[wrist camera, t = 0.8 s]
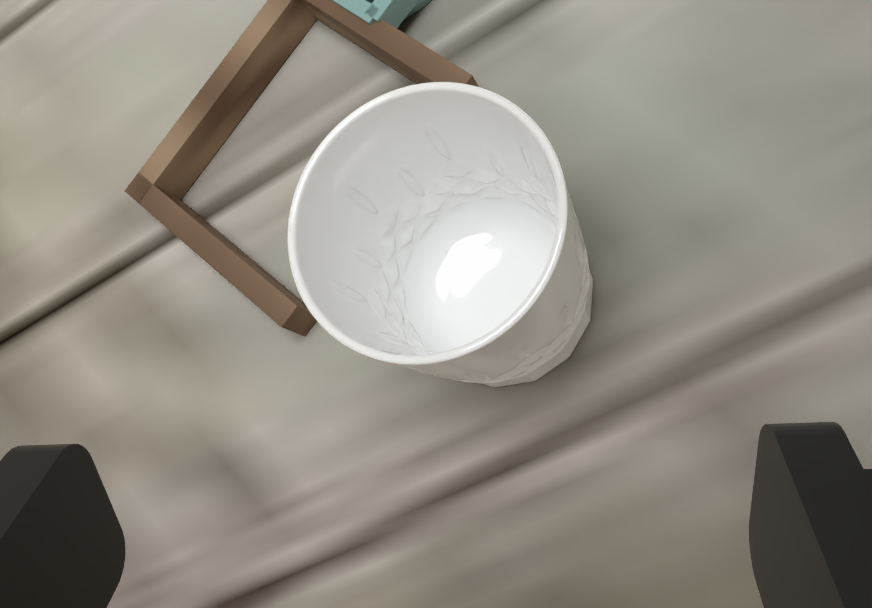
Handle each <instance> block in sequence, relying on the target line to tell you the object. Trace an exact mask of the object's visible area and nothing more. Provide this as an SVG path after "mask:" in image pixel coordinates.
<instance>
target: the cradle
mask: <svg viewBox="0 0 872 608" xmlns="http://www.w3.org/2000/svg"><path fill="white" fill-rule="evenodd" d="M317 19H318V20H319V21H321V22H322V23H324V24H325V25H327V26H328V27H330V28H332V29H333V30H335V31H336V32H338V33H339V34H341V35H342V36H344V37H345V38H347V39H348V40H350V41H352V42H353V43H355V44H356V45H358V46H359V47H361V48H362V49H364V50H365V51H367V52H369V53H370V54H372V55H373V56H375V57H376V58H378V59H379V60H381V61H382V62H384V63H385V64H387V65H389V66H390V67H392V68H393V69H395V70H396V71H398V72H399V73H401V74H402V75H404V76H405V77H407V78H409V79H410V80H412V81H413V82H415V83H416V84H421V83H429V82H455V83H463V84H468V85H473V86H477V87H478V85H477V83H476V81H475V80H474V78H473V76H472V75H471V74H469V73H467V72H466V71H464V70H463V69H461V68H459V67H458V66H456V65H455V64H453V63H451V62H450V61H448V60H447V59H445V58H443V57H442V56H440V55H439V54H437V53H435V52H434V51H432V50H430V49H429V48H427V47H426V46H424V45H422V44H421V43H419V42H418V41H416V40H414V39H413V38H411V37H410V36H408V35H406V34H405V33H403V32H402V31H400V30H398V29H397V28H395V27H394V26H392V25H390V24H389V23H387V22H386V21H384V20H381V21H380V23H378V22H376V21H374V22H373V23H372V25H369V24H368V23H366V22H364V21H363V20H361V19H360V18H358V17H357V16H355V15H353V14H352V13H350V12H349V11H347V10H345V9H344V8H342V7H341V6H339V5H338V4H336V3H334V2H333V1H331V0H268V1H267V2H266V3H265V5H264V6H263V7H262V9H261V10H260V11H259V13H258V14H257V15H256V17H255V18H254V19H253V21H252V22H251V23H250V25H249V26H248V27H247V29H246V30H245V31H244V33H243V34H242V35H241V37H240V38H239V39H238V41H237V42H236V43H235V45H234V46H233V47H232V49H231V50H230V51H229V53H228V54H227V55H226V57H225V58H224V59H223V61H222V62H221V63H220V65H219V66H218V67H217V69H216V70H215V71H214V73H213V74H212V75H211V77H210V78H209V79H208V81H207V82H206V83H205V85H204V86H203V87H202V89H201V90H200V91H199V93H198V94H197V95H196V97H195V98H194V99H193V101H192V102H191V103H190V105H189V106H188V107H187V109H186V110H185V111H184V113H183V114H182V115H181V117H180V118H179V119H178V121H177V122H176V123H175V125H174V126H173V127H172V129H171V130H170V131H169V133H168V134H167V135H166V137H165V138H164V139H163V141H162V142H161V143H160V145H159V146H158V147H157V149H156V150H155V151H154V153H153V154H152V155H151V157H150V158H149V159H148V161H147V162H146V163H145V165H144V166H143V167H142V169H141V170H140V171H139V173H138V174H137V175H136V177H135V178H134V179H133V181H132V182H131V183H130V185H129V186H128V187H127V189H126V190H125V192H126V193H127V194H129V195H130V196H131V197H132V198H133V199H134V200H136V201H137V202H138V203H139V204H140V205H141V206H142V207H144V208H145V209H146V210H147V211H148V212H149V213H151V214H152V215H153V216H154V217H155V218H156V219H157V220H159V221H160V222H161V223H162V224H163V225H164V226H166V227H167V228H168V229H169V230H170V231H171V232H172V233H174V234H175V235H176V236H177V237H178V238H179V239H181V240H182V241H183V242H184V243H185V244H186V245H187V246H189V247H190V248H191V249H192V250H193V251H194V252H196V253H197V254H198V255H199V256H200V257H201V258H202V259H204V260H205V261H206V262H207V263H208V264H209V265H211V266H212V267H213V268H214V269H215V270H216V271H217V272H219V273H220V274H221V275H222V276H223V277H224V278H226V279H227V280H228V281H229V282H230V283H231V284H232V285H234V286H235V287H236V288H237V289H238V290H239V291H241V292H242V293H243V294H244V295H245V296H246V297H247V298H249V299H250V300H251V301H252V302H253V303H254V304H256V305H257V306H258V307H259V308H260V309H261V310H262V311H264V312H265V313H266V314H267V315H268V316H269V317H270V318H272V319H273V320H274V321H275V322H276V323H277V324H279V325H280V326H281V327H283V328H285V329H288V330H290V331H293V332H296V333H298V334H301V335H303V336H305V335H306V334H307V333H308V331H309V330H310V329H311V328H312V326H313V325H314V324H315V322H316V321H317V320H316V319H315V318H314V317H313V315H312V314H311V313H310V311H309V310H308V308H307V307H306V305H305V304H304V303H303V302H302V301H301V300H300V299H299V298H297V297H296V296H295V295H294V294H293V293H291V292H290V291H289V290H288V289H287V288H285V287H284V286H283V285H282V284H281V283H279V282H278V281H277V280H276V279H275V278H273V277H272V276H271V275H270V274H269V273H268V272H266V271H265V270H264V269H263V268H262V267H260V266H259V265H258V264H257V263H256V262H254V261H253V260H252V259H251V258H250V257H248V256H247V255H246V254H245V253H244V252H242V251H241V250H240V249H239V248H238V247H237V246H235V245H234V244H233V243H232V242H231V241H229V240H228V239H227V238H226V237H225V236H223V235H222V234H221V233H220V232H219V231H217V230H216V229H215V228H214V227H213V226H211V225H210V224H209V223H208V222H207V221H206V220H204V219H203V218H202V217H201V216H200V215H198V214H197V213H196V212H195V211H194V210H192V209H191V208H190V207H189V206H188V205H186V204H185V203H184V202H183V201H182V200H181V199H182V198H183V196H184V195H185V194H186V192H187V191H188V190H189V188H190V187H191V186H192V184H193V183H194V182H195V180H196V179H197V178H198V177H199V175H200V174H201V173H202V171H203V170H204V169H205V167H206V166H207V165H208V163H209V162H210V161H211V159H212V158H213V157H214V155H215V154H216V153H217V151H218V150H219V149H220V147H221V146H222V145H223V143H224V142H225V141H226V139H227V138H228V137H229V135H230V134H231V133H232V131H233V130H234V129H235V127H236V126H237V125H238V123H239V122H240V121H241V119H242V118H243V117H244V115H245V114H246V113H247V111H248V110H249V109H250V107H251V106H252V105H253V103H254V102H255V101H256V99H257V98H258V97H259V95H260V94H261V93H262V91H263V90H264V89H265V87H266V86H267V85H268V83H269V82H270V81H271V79H272V78H273V77H274V76H275V74H276V73H277V72H278V70H279V69H280V68H281V66H282V65H283V64H284V62H285V61H286V60H287V58H288V57H289V56H290V54H291V53H292V52H293V50H294V49H295V48H296V46H297V45H298V44H299V42H300V41H301V40H302V38H303V37H304V36H305V34H306V33H307V32H308V30H309V29H310V28H311V26H312V25H313V24H314V22H315V21H316V20H317Z"/></svg>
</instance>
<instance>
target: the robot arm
mask: <svg viewBox="0 0 872 608" xmlns="http://www.w3.org/2000/svg"><path fill="white" fill-rule="evenodd" d="M749 542H750V553H751V560H752V566H753V571H754V576H755V579H756V583H757V586H758V589H759V593H760V596H761V599H762V603H763V606H764V608H872V469H863V467H862V465H861V463H860V461H859V459H858V458H857V456H856V454H855V452H854V450H853V448H852V446H851V444H850V442H849V440H848V438H847V436H846V434H845V432H844V431H843V429H842V428H841V426H840V425H839V424H837V423H835V422H818V423H787V424H765V425H764V426H763V427H762V429H761V432H760V436H759V442H758V451H757V460H756V468H755V477H754V486H753V494H752V503H751V512H750V521H749ZM124 561H125V540H124V535H123V531H122V529H121V526H120V524H119V521H118V519H117V517H116V514H115V512H114V509H113V507H112V505H111V502H110V500H109V498H108V495H107V493H106V490H105V488H104V486H103V483H102V481H101V479H100V476H99V474H98V471H97V469H96V467H95V464H94V462H93V460H92V457H91V455H90V453H89V452H88V451H87V449H85V448H84V447H83V446H81V445H79V444H57V445H26V446H17V447H15V448H13V449H11V450H10V451H9V452H8V453H7V454H6V455H5V456H4V457H3V458H2V460H1V461H0V608H107V606H108V604H109V602H110V600H111V598H112V596H113V594H114V592H115V590H116V588H117V586H118V583H119V581H120V578H121V575H122V572H123V568H124Z"/></svg>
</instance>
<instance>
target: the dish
mask: <svg viewBox="0 0 872 608" xmlns="http://www.w3.org/2000/svg"><path fill="white" fill-rule="evenodd" d="M331 1H333V2H334V3H336V4H338V5H339V6H341V7H342V8H344V9H345V10H347V11H349V12H350V13H352V14H353V15H355V16H357V17H358V18H360V19H361V20H363V21H364V22H366V23H368V24H369V25H372V23H373V22H374V21H376V22H378V23H380V21H381V20H384V21H386V22H387V23H389V24H390V25H392V26H394V27H395V28H398V27H399V25H400V24H401V23H402V21H403V20H404V19H405V18H407V17H409V16H411V15H413V14H414V13H416V12H417V11H419V10H420V9H422V8H423V7H424V6H426V5H427V4H428V3H429V2H430V1H431V0H331Z"/></svg>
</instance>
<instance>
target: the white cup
mask: <svg viewBox="0 0 872 608" xmlns="http://www.w3.org/2000/svg"><path fill="white" fill-rule="evenodd" d="M287 240H288V255H289V261H290V266H291V271H292V274H293V278H294V281H295V284H296V286H297V289H298V291H299V294H300V296H301V298H302V300H303V301H304V303H305V305H306V307H307V308H308V310H309V311H310V313H311V314H312V315H313V317H314V318H315V319H316V320H317V322H318V323H319V324H320V325H321V326H322V327H323V328H324V329H325V330H326V331H327V332H328V333H329V334H330V335H331V336H333V337H334V338H335V339H336V340H338V341H339V342H340V343H342V344H343V345H345V346H347V347H348V348H350V349H352V350H354V351H356V352H358V353H360V354H362V355H365V356H367V357H370V358H373V359H376V360H380V361H383V362H387V363H391V364H394V365H398V366H401V367H405V368H409V369H412V370H416V371H419V372H422V373H425V374H428V375H432V376H437V377H442V378H447V379H452V380H457V381H461V382H468V383H482V384H485V385H488V386H492V387H500V386H507V385H513V384H519V383H526V382H532V381H536V380H537V379H539V378H540V377H542V376H543V375H545V374H546V373H548V372H549V371H550V370H552V369H553V368H555V367H556V366H558V365H559V364H561V363H562V362H563V361H565V360H566V359H568V358H569V357H570V356H571V354H572V352H573V350H574V349H575V347H576V345H577V344H578V342H579V340H580V338H581V337H582V335H583V333H584V331H585V330H586V328H587V326H588V324H589V323H590V319H591V305H592V291H593V278H592V275H591V273H590V270H589V262H588V255H587V250H586V247H585V243H584V239H583V234H582V230H581V227H580V224H579V221H578V218H577V215H576V212H575V209H574V206H573V203H572V200H571V197H570V194H569V190H568V187H567V184H566V181H565V178H564V175H563V171H562V168H561V165H560V162H559V160H558V157H557V155H556V153H555V151H554V149H553V147H552V145H551V143H550V141H549V140H548V138H547V137H546V135H545V134H544V132H543V131H542V130H541V128H540V127H539V126H538V125H537V124H536V123H535V121H534V120H533V119H532V118H531V117H530V116H529V115H528V114H526V113H525V112H524V111H523V110H522V109H521V108H519V107H518V106H517V105H515V104H514V103H512V102H511V101H509V100H507V99H506V98H504V97H502V96H500V95H498V94H496V93H494V92H491V91H489V90H486V89H483V88H480V87H477V86H473V85H468V84H463V83H455V82H429V83H421V84H415V85H410V86H406V87H402V88H399V89H396V90H393V91H390V92H388V93H385V94H383V95H381V96H379V97H377V98H375V99H373V100H371V101H369V102H367V103H366V104H364V105H362V106H361V107H359V108H358V109H356V110H355V111H354V112H352V113H351V114H350V115H348V116H347V117H346V118H345V119H343V120H342V121H341V122H340V123H339V124H338V125H337V126H336V127H335V128H334V129H333V130H332V131H331V132H330V133H329V134H328V135H327V136H326V138H325V139H324V140H323V141H322V142H321V144H320V145H319V146H318V148H317V149H316V151H315V152H314V153H313V155H312V157H311V158H310V160H309V162H308V163H307V165H306V167H305V169H304V171H303V173H302V175H301V177H300V180H299V182H298V184H297V187H296V190H295V193H294V196H293V200H292V204H291V208H290V214H289V221H288V235H287Z"/></svg>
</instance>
